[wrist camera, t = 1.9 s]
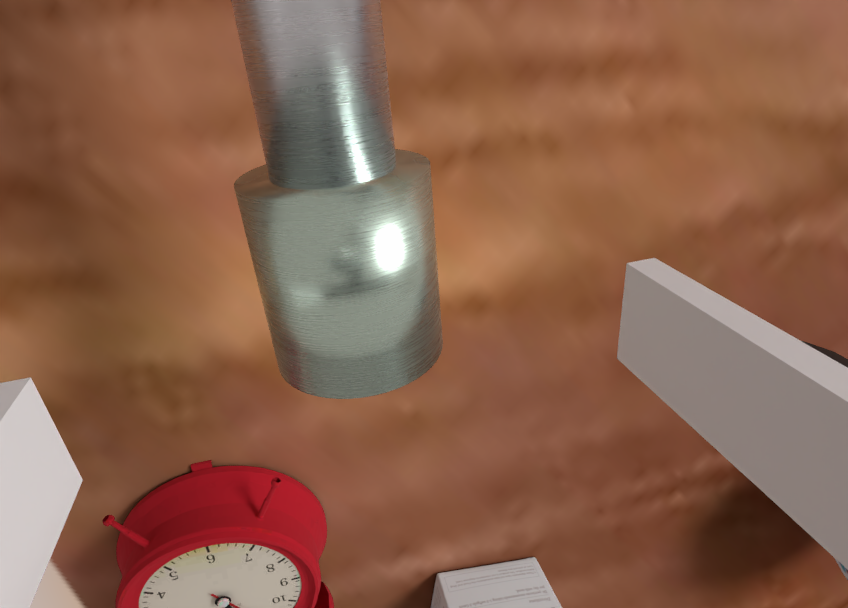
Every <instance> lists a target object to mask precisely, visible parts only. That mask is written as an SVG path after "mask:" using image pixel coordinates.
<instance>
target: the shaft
mask: <svg viewBox="0 0 848 608" xmlns="http://www.w3.org/2000/svg"><path fill="white" fill-rule="evenodd" d="M231 2H232V6H233V11H234V16H235V20H236V25H237V30H238V34H239V39H240V44H241V48H242V53H243V58H244V62H245V67H246V72H247V76H248V81H249V86H250V90H251V95H252V100H253V105H254V109H255V114H256V119H257V123H258V128H259V133H260V137H261V142H262V147H263V151H264V156H265V161H266V165H263V166H260V167H258V168H255V169H253V170H251V171H249V172H247V173H245V174H243V175H242V176H241V177H239V178H238V179H237V180H236V181H235V184H234V188H235V193H236V197H237V201H238V205H239V209H240V213H241V217H242V221H243V225H244V229H245V233H246V237H247V241H248V245H249V249H250V253H251V257H252V261H253V265H254V270H255V274H256V278H257V282H258V286H259V290H260V294H261V298H262V302H263V306H264V310H265V314H266V318H267V322H268V326H269V330H270V334H271V338H272V343H273V347H274V351H275V355H276V359H277V363H278V367H279V370H280V373H281V375H282V376H283V378H284V379H285V380H286V381H287V382H288V383H289V384H290V385H291V386H293V387H295V388H296V389H298V390H300V391H302V392H305V393H307V394H311V395H314V396H319V397H325V398H336V399H351V398H361V397H368V396H373V395H378V394H382V393H386V392H389V391H392V390H394V389H397V388H400V387H402V386H404V385H406V384H409V383H410V382H412V381H414V380H416V379H417V378H419V377H420V376H422V375H423V374H424V373H426V372H427V371H428V370H429V369H430V368H431V367H432V366H433V365H434V363H435V362H436V361H437V359H438V358H439V356H440V354H441V350H442V344H443V340H442V326H441V312H440V297H439V283H438V269H437V255H436V240H435V226H434V212H433V198H432V183H431V169H430V161H429V160H428V159H427V158H426V157H425V156H423V155H421V154H418V153H415V152H411V151H405V150H398V149H395V146H394V136H393V126H392V116H391V106H390V96H389V86H388V76H387V66H386V56H385V46H384V36H383V26H382V15H381V5H380V0H231Z"/></svg>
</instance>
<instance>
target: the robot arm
mask: <svg viewBox="0 0 848 608" xmlns="http://www.w3.org/2000/svg"><path fill="white" fill-rule="evenodd" d="M617 359H618V360H619V361H620V362H621V363H623V364H624V365H625V366H626V367H627V368H628V369H629V370H630V371H631V372H632V373H633V374H635V375H636V376H637V377H638V378H639V379H640V380H641V381H642V382H643V383H644V384H646V385H647V386H648V387H649V388H650V389H651V390H652V391H653V392H654V393H655V394H656V395H658V396H659V397H660V398H661V399H662V400H663V401H664V402H665V403H666V404H667V405H668V406H670V407H671V408H672V409H673V410H674V411H675V412H676V413H677V414H678V415H679V416H680V417H682V418H683V419H684V420H685V421H686V422H687V423H688V424H689V425H690V426H691V427H692V428H694V429H695V430H696V431H697V432H698V433H699V434H700V435H701V436H702V437H703V438H704V439H706V440H707V441H708V442H709V443H710V444H711V445H712V446H713V447H714V448H715V449H716V450H718V451H719V452H720V453H721V454H722V455H723V456H724V457H725V458H726V459H727V460H728V461H730V462H731V463H732V464H733V465H734V466H735V467H736V468H737V469H738V470H739V471H740V472H742V473H743V474H744V475H745V476H746V477H747V478H748V479H749V480H750V481H751V482H753V483H754V484H755V485H756V486H757V487H758V488H759V489H760V490H761V491H762V492H763V493H765V494H766V495H767V496H768V497H769V498H770V499H771V500H772V501H773V502H774V503H775V504H777V505H778V506H779V507H780V508H781V509H782V510H783V511H784V512H785V513H786V514H787V515H789V516H790V517H791V518H792V519H793V520H794V521H795V522H796V523H797V524H798V525H799V526H801V527H802V528H803V529H804V530H805V531H806V532H807V533H808V534H809V535H810V536H811V537H813V538H814V539H815V540H816V541H817V542H818V543H819V544H820V545H821V546H822V547H823V548H825V549H826V550H827V551H828V552H829V553H830V554H831V555H832V556H833V557H834V558H835V559H837V560H838V561H839V562H840V563H841V564H842V565H843V566H844V567H845V568H846V569H847V570H848V359H846V358H844V357H842V356H841V355H839V354H837V353H835V352H833V351H830V350H827V349H824V348H821V347H818V346H816V345H813V344H810V343H807V342H804V341H800V340H798V339H796V338H794V337H793V336H791V335H789V334H787V333H786V332H784V331H782V330H780V329H779V328H777V327H775V326H773V325H772V324H770V323H768V322H766V321H765V320H763V319H761V318H759V317H758V316H756V315H754V314H752V313H751V312H749V311H747V310H745V309H743V308H742V307H740V306H738V305H736V304H735V303H733V302H731V301H729V300H728V299H726V298H724V297H722V296H721V295H719V294H717V293H715V292H714V291H712V290H710V289H708V288H707V287H705V286H703V285H701V284H700V283H698V282H696V281H694V280H692V279H691V278H689V277H687V276H685V275H684V274H682V273H680V272H678V271H677V270H675V269H673V268H671V267H670V266H668V265H666V264H664V263H663V262H661V261H659V260H657V259H656V258H652V259H646V260H641V261H636V262H631V263H627V265H626V275H625V285H624V295H623V304H622V314H621V324H620V334H619V344H618V353H617ZM82 481H83V480H82V478H81V476H80V474H79V472H78V470H77V468H76V466H75V464H74V462H73V460H72V458H71V456H70V454H69V452H68V450H67V448H66V446H65V444H64V442H63V440H62V438H61V436H60V434H59V432H58V430H57V428H56V426H55V424H54V422H53V420H52V418H51V416H50V414H49V412H48V410H47V408H46V406H45V405H44V403H43V401H42V399H41V397H40V395H39V393H38V391H37V389H36V387H35V385H34V383H33V381H32V379H31V377H30V378H25V379H19V380H14V381H9V382H4V383H0V608H30V606H31V604H32V601H33V599H34V596H35V593H36V592H37V589H38V587H39V584H40V582H41V580H42V577H43V575H44V572H45V570H46V567H47V565H48V563H49V560H50V558H51V556H52V553H53V551H54V548H55V546H56V543H57V541H58V539H59V536H60V534H61V531H62V529H63V527H64V524H65V522H66V519H67V517H68V515H69V512H70V510H71V507H72V505H73V502H74V500H75V498H76V495H77V493H78V490H79V488H80V486H81V483H82Z"/></svg>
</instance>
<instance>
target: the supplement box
mask: <svg viewBox="0 0 848 608" xmlns="http://www.w3.org/2000/svg"><path fill="white" fill-rule="evenodd" d="M431 608H562V607H561V605H560V603H559V601H558V599H557V597H556V595H555V594H554V592H553V590H552V588H551V586H550V584H549V582H548V581H547V579H546V577H545V575H544V573H543V571H542V569H541V567H540V565H539V563H538V561H537V560H536V558H535V557H532V558H527V559H521V560H515V561H509V562H503V563H497V564H491V565H485V566H479V567H473V568H467V569H461V570H454V571H449V572H442V573H438V574H437V576H436V581H435V586H434V592H433V597H432V603H431Z"/></svg>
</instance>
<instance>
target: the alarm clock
mask: <svg viewBox="0 0 848 608" xmlns="http://www.w3.org/2000/svg"><path fill="white" fill-rule="evenodd" d="M191 469H192V473H188V474H185V475H182V476H180V477H177V478H175V479H173V480H171V481H169V482H167V483H165V484H163V485H161V486H159V487H158V488H156V489H155V490H153V491H152V492H150V493H149V494H148V495H147V496H145V497H144V498H143V499H142V500H141V501H140V502H139V503H138V504H137V505H136V506H135V507H134V508H133V509H132V510H131V512H130V513H129V515H128V516H127V518H126V520H125V521H124V523H123V525H121V524H119V523H118V522H116V521H114V519H115V518H114V516H112V515H107V516H106V517H105V518H104V519H103V524H104V525H105V526H109V525H111V526H113V527H114V528H116V529H117V530H119V531H120V534H119V538H118V542H117V548H116V555H117V562H118V566H119V568H120V571H121V573H122V580H121V583H120V586H119V589H118V591H117V596H116V608H334V602H333V598H332V595H331V593H330V591H329V589H328V588H327V586H326V585H325V584H324V583H323V582H321V574H320V568H319V558H320V556H321V554H322V552H323V549H324V547H325V543H326V538H327V525H326V518H325V514H324V511H323V508H322V506H321V504H320V502H319V501H318V499H317V498H316V496H315V495H314V494H313V493H312V492H311V491H310V490H309V489H308V488H307V487H305V486H304V485H303V484H301V483H300V482H298V481H297V480H295V479H293V478H291V477H289V476H287V475H285V474H282V473H279V472H276V471H273V470H269V469H265V468H260V467H251V466H220V467H212V464H211V460H208V461H204V462H199V463H194V464H191Z"/></svg>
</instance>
